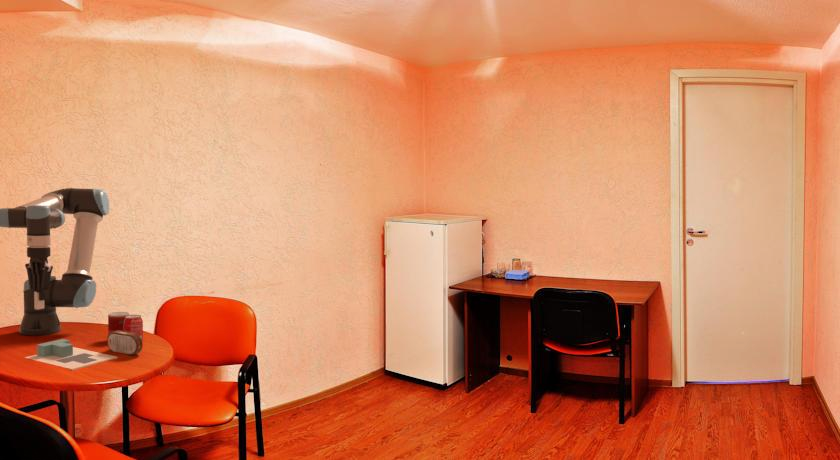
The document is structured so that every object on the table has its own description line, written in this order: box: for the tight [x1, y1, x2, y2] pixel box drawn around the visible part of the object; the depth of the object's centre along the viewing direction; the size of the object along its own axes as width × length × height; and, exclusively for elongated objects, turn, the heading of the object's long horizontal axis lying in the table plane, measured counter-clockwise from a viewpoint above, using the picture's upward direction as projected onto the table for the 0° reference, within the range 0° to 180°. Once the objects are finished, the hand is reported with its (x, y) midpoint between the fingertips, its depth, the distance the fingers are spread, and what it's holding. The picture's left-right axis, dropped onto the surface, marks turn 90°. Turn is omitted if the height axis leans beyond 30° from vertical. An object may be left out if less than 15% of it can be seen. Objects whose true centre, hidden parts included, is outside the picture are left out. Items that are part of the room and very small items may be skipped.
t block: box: [36, 338, 74, 358], centre depth 232 cm, size 10×10×4 cm
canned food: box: [107, 311, 130, 336], centre depth 256 cm, size 8×8×11 cm
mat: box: [24, 346, 118, 371], centre depth 229 cm, size 18×26×1 cm
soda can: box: [123, 314, 144, 343], centre depth 248 cm, size 7×7×12 cm
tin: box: [106, 330, 143, 356], centre depth 238 cm, size 15×3×8 cm, turn 71°
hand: (39, 308), depth 236 cm, fingers closed
